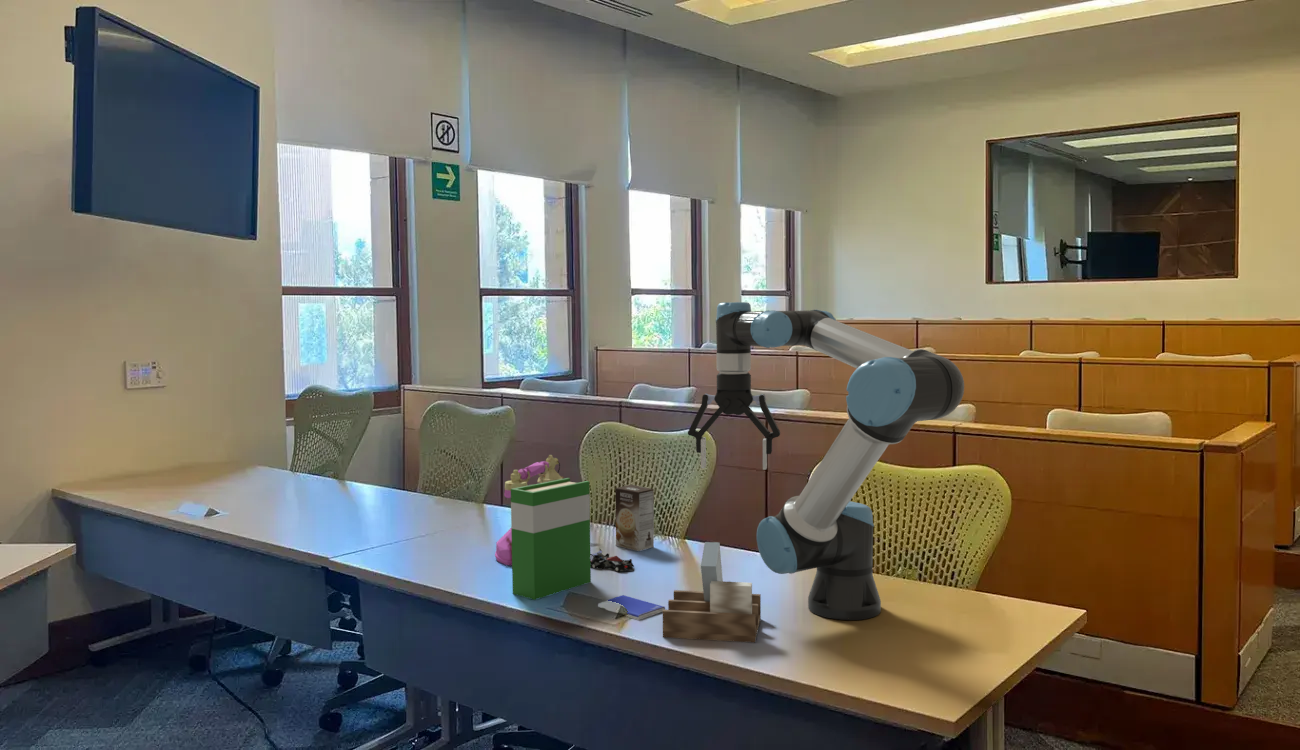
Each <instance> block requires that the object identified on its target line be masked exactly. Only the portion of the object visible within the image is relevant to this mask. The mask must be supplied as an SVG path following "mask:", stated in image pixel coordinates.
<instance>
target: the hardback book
mask: <svg viewBox="0 0 1300 750" xmlns="http://www.w3.org/2000/svg"><path fill="white" fill-rule="evenodd" d="M590 487H591V486H590V481H588V480H585V481H580V482H574V481H573V482H572V481H571V478H570V477H566V478H565V477H564V479H559V480H554V481H549V482H544V483H539V482H538V483H536V484H535V483H534V484H529V485H528V484H527V486H523V487H518V488H513V489H511V498H510V518H511V519H510V523H511V524H510V528H511V532H512V567H511V570H512V571H511V574H512V575H511V576H512V577H511V578H512V582H511V583H512V594H513V595H517V596H520V597H523V598H525V599H526V598H527V599H528V600H534V601H536V600H539V599H542V598H545V597H546V598H547V597H548V596H553V595H556V594H557V593H561V592H565V591H567V590H570V589H574V588H577V587H581V586H584V585H586V584H591V582H592V579H591V578H592V576H591V575H592V574H591V572H592V568H591V560H592V559H591V555H590V554H591V508H590V507H591V503H590V502H591V499H590V498H591V497H590Z"/></svg>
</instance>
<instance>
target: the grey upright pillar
mask: <svg viewBox="0 0 1300 750" xmlns="http://www.w3.org/2000/svg"><path fill="white" fill-rule="evenodd" d="M720 543H721V542H720V541H719V542H717V541H716V542H715V541H714V542H711V541H710V542H709V541H704V544H703V550H702V556H701V557H702V558H701V561H700V562H701V563H700V574H701V580H702V590H703V593H704V601H709V602H710V583H711V581H724V579H723V569H722V556H721V545H720Z"/></svg>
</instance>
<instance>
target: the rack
mask: <svg viewBox="0 0 1300 750" xmlns="http://www.w3.org/2000/svg"><path fill="white" fill-rule="evenodd" d="M761 599H762V597H761V594H759V593H753V583H752V582H746V581H745V582H744V581H743V582H742V581H724V580H723V581H711V583H710V602H709V601H704V593H703V591H701V590H700V591H699V590H683V589H682V590H678V589H674V590H673V599H668V600H667V601H668V602H667V603H668V604H667V606H668V609H665V610H663V612H662V638H671V639H672V638H673V639H684V640H685V639H688V640H689V639H690V640H705V641H707V640H708V641H719V642H721V641H722V642H741V643H756V640H757V635H758V631H759V627H760V623H761V616H762V614H761V611H762V609H761V608H762V607H761V606H762V605H761V601H762V600H761Z"/></svg>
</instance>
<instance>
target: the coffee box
mask: <svg viewBox="0 0 1300 750" xmlns="http://www.w3.org/2000/svg"><path fill="white" fill-rule="evenodd" d="M654 489H655V488H650V487H644V486H640V485H635V484H628V485H623V486H619V487H615V489H614V490H615V546H616V547H620V548H624V549H627V550H631V551H637V552H641V551H645V550H649V549H652V548H655V545H654V543H655V542H654V541H655V539H654V538H655V537H654V534H655V533H654V529H655V527H654V523H655V522H654V521H655V520H654V519H655V515H654V514H655V513H654V512H655V509H654V502H655V501H654V500H655V499H654V497H655V495H654V494H655V493H654V492H655V490H654Z"/></svg>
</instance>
